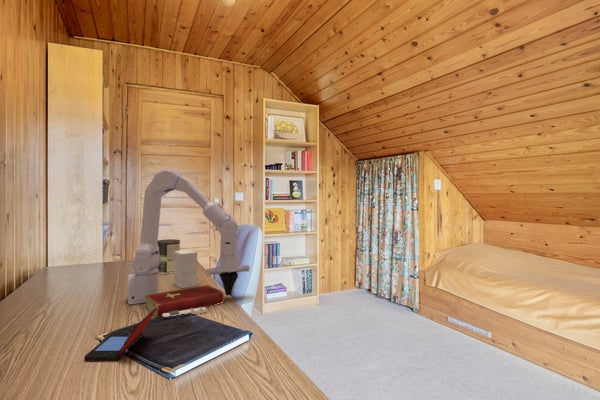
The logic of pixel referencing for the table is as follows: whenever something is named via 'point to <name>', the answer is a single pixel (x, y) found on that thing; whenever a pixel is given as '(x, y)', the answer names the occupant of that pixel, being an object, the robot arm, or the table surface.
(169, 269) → the coffee can
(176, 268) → the small box
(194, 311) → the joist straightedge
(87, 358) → the handheld game console
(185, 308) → the hardcover book
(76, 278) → the table surface
